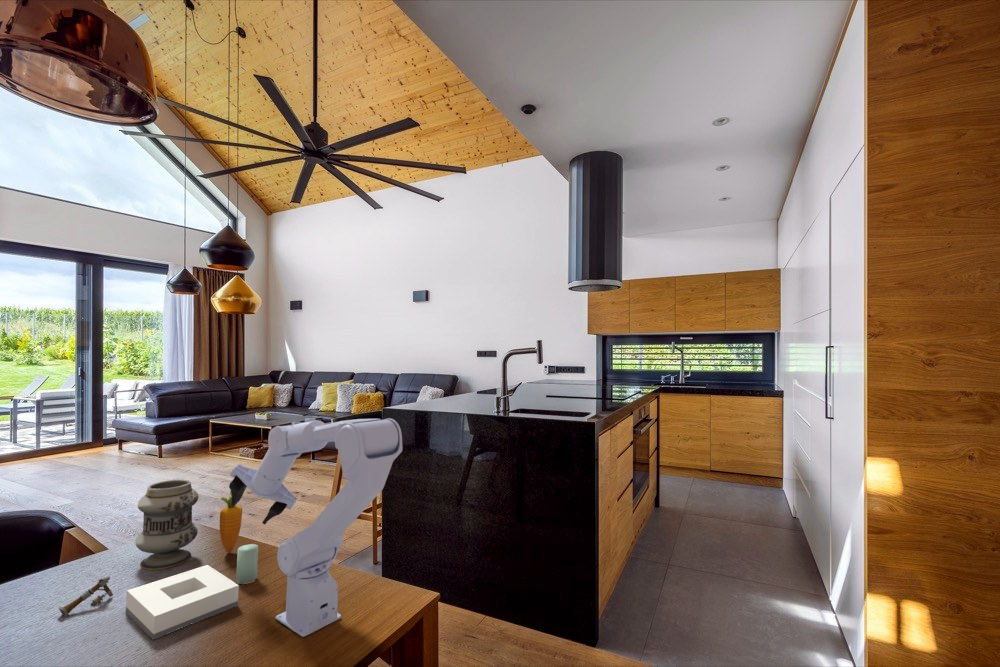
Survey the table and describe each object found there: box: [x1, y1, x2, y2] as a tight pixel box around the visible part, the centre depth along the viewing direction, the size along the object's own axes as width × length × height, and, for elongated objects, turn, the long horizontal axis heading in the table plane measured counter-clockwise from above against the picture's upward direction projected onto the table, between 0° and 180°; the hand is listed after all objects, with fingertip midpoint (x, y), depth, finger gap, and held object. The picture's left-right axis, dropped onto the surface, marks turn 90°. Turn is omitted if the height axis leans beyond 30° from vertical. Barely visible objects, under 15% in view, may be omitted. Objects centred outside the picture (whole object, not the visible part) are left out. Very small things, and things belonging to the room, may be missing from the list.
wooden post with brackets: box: [58, 576, 114, 618], centre depth 90 cm, size 2×8×4 cm, turn 155°
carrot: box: [219, 490, 243, 554], centre depth 115 cm, size 5×5×15 cm
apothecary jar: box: [135, 479, 199, 571], centre depth 111 cm, size 12×12×18 cm
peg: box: [235, 543, 259, 584], centre depth 102 cm, size 4×4×7 cm
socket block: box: [125, 564, 240, 641], centre depth 90 cm, size 14×14×4 cm
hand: (250, 511), depth 102 cm, fingers open, 7 cm apart
